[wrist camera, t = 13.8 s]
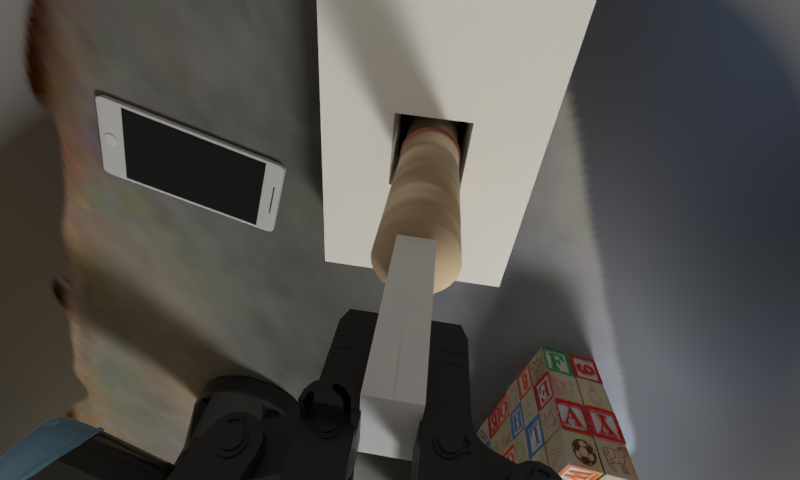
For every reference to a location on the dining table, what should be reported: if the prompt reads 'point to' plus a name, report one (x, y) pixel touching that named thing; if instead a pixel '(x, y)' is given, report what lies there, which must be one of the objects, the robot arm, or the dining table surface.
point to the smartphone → (188, 164)
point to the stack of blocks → (560, 420)
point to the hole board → (441, 110)
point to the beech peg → (425, 199)
